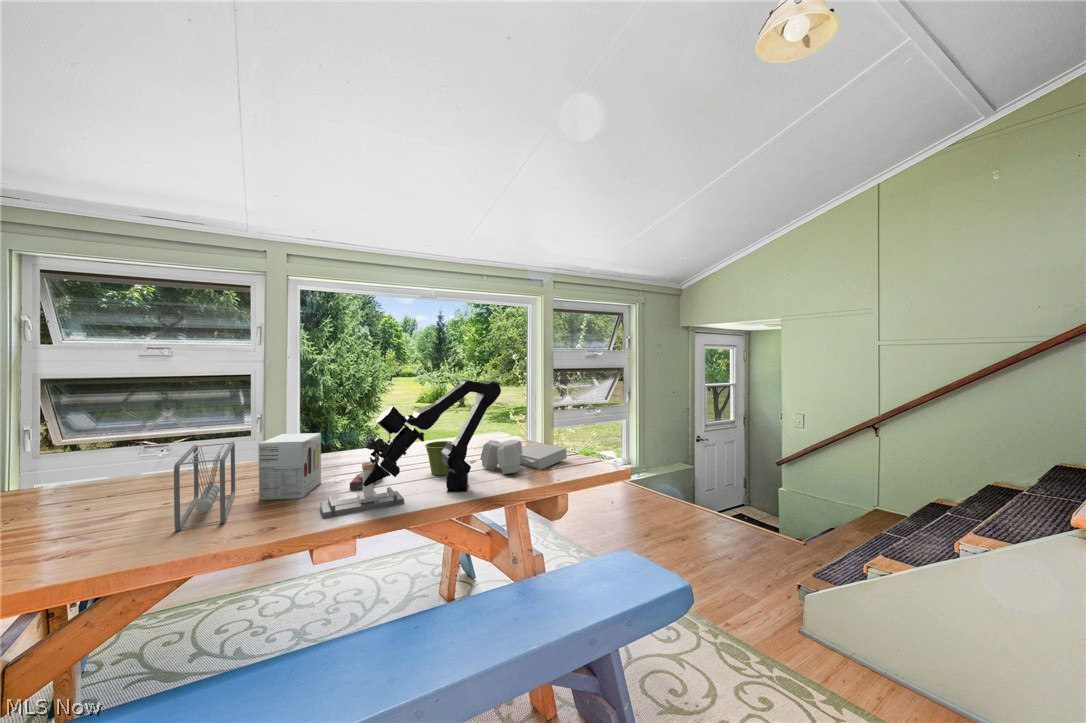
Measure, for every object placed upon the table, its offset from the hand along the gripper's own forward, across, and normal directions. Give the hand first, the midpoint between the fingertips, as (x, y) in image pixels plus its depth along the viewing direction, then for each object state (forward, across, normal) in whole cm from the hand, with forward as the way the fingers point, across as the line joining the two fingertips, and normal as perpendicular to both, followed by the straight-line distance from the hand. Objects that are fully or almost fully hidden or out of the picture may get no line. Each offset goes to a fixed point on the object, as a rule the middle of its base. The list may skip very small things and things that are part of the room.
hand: (363, 484), depth 128 cm
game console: (-40, -16, +50) cm, 66 cm away
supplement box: (+17, -28, -8) cm, 33 cm away
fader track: (+5, 0, +5) cm, 7 cm away
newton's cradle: (+32, -19, -23) cm, 44 cm away
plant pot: (-17, -22, +27) cm, 39 cm away
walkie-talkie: (+1, -25, +9) cm, 27 cm away
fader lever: (+2, 0, +4) cm, 5 cm away
